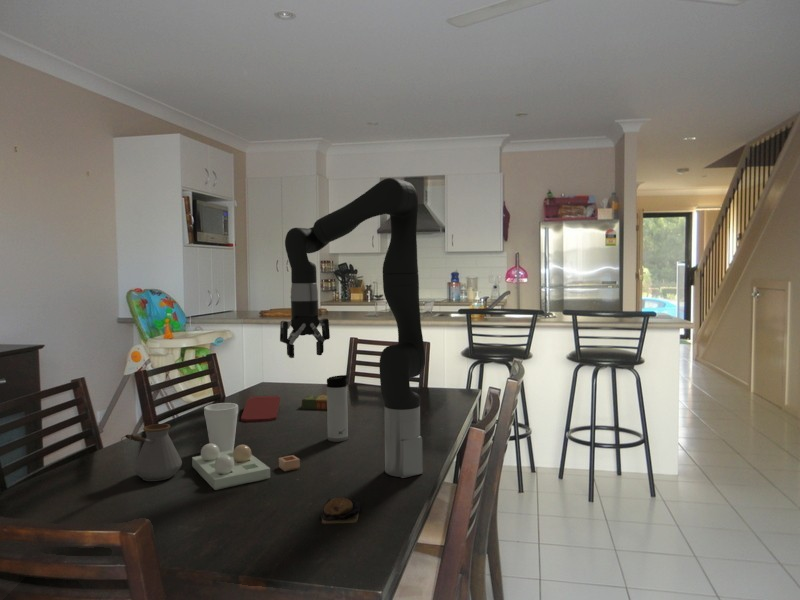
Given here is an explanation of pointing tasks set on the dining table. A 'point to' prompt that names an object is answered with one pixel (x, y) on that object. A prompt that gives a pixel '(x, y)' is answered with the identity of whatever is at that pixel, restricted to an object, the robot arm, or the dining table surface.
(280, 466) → the egg cup
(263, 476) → the egg tray
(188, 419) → the dining table surface
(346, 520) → the sandwich
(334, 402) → the travel mug
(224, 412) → the foam cup
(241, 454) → the brown egg
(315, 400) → the carton
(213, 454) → the white egg
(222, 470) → the white egg
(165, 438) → the coffee pot
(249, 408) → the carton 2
